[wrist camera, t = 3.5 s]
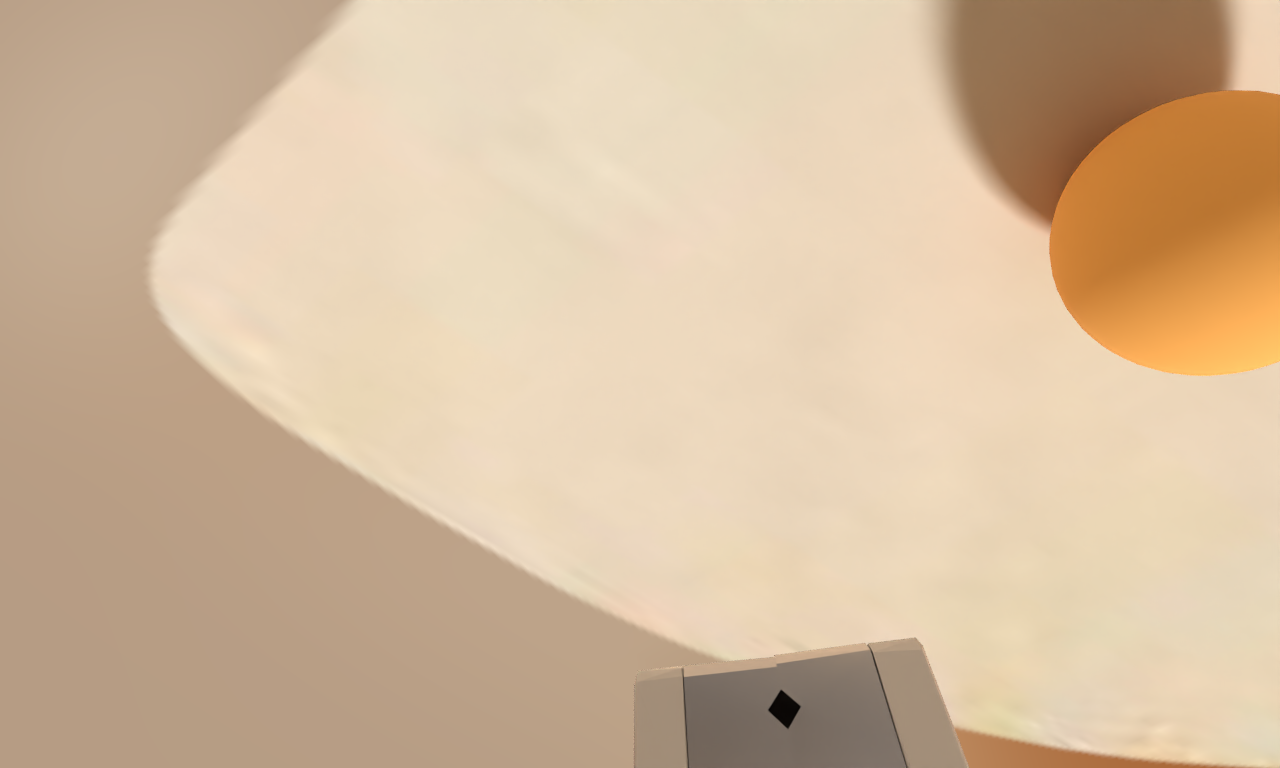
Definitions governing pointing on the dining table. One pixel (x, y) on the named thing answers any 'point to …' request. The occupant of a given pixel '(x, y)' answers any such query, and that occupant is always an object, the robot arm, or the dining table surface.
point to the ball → (1178, 236)
